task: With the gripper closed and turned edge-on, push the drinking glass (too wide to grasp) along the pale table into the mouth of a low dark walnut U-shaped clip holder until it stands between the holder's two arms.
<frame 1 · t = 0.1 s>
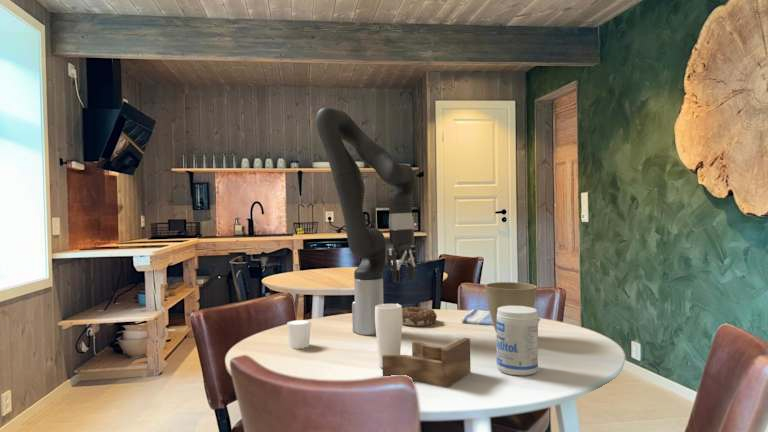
hand: (403, 281, 151), 17 cm above the table, tool pointing down, fingers open, 8 cm apart
holder: (436, 375, 115), on the table
white cup: (299, 346, 143), on the table
donut: (417, 324, 170), on the table
plant pot: (511, 339, 147), on the table
drinking glass: (389, 367, 122), on the table
dish towel: (499, 322, 172), on the table
supplement tub: (517, 371, 117), on the table
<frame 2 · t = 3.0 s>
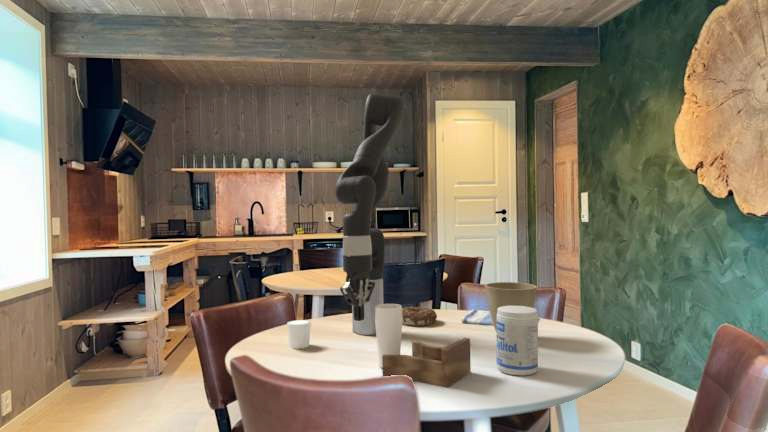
hand: (359, 320, 127), 10 cm above the table, tool pointing down, fingers closed
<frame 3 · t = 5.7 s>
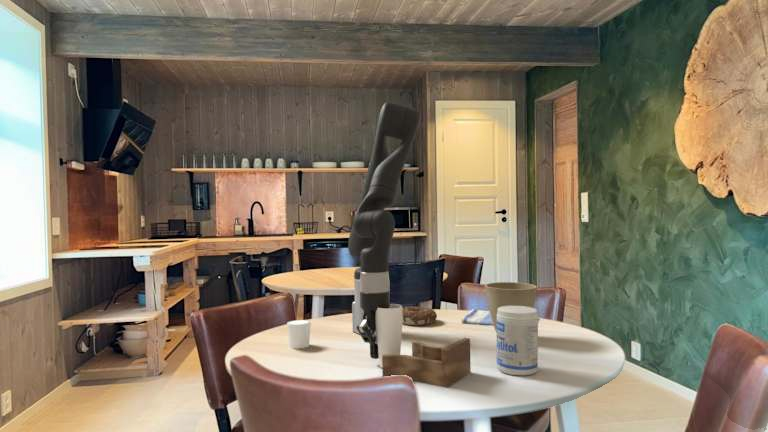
hand: (375, 357, 124), 2 cm above the table, tool pointing down, fingers closed
drinking glass: (389, 367, 122), on the table, touching gripper
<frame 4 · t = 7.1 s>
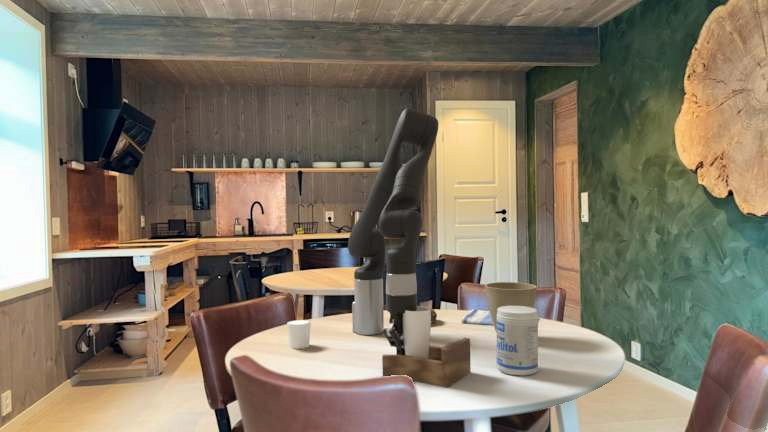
hand: (402, 362, 120), 2 cm above the table, tool pointing down, fingers closed
drinking glass: (417, 372, 118), on the table, touching gripper
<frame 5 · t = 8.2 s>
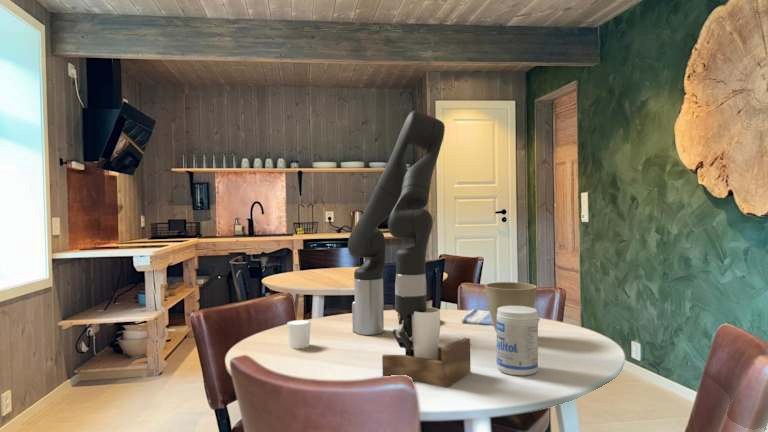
hand: (410, 363, 119), 2 cm above the table, tool pointing down, fingers closed
drinking glass: (425, 373, 117), on the table, touching gripper
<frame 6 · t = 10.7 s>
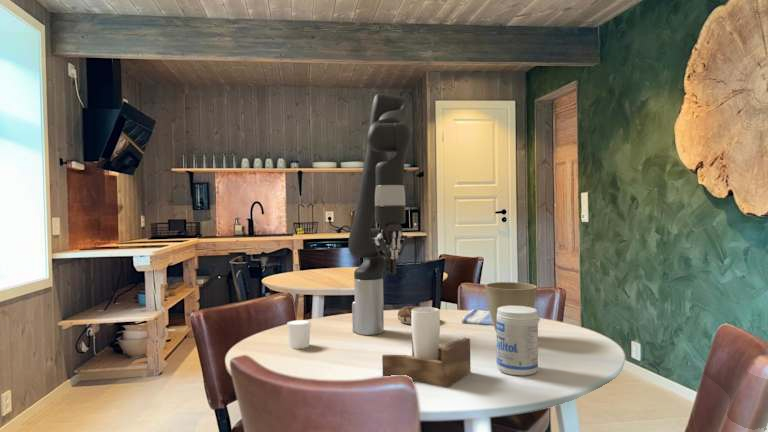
hand: (390, 274, 122), 23 cm above the table, tool pointing down, fingers closed
drinking glass: (426, 373, 117), on the table
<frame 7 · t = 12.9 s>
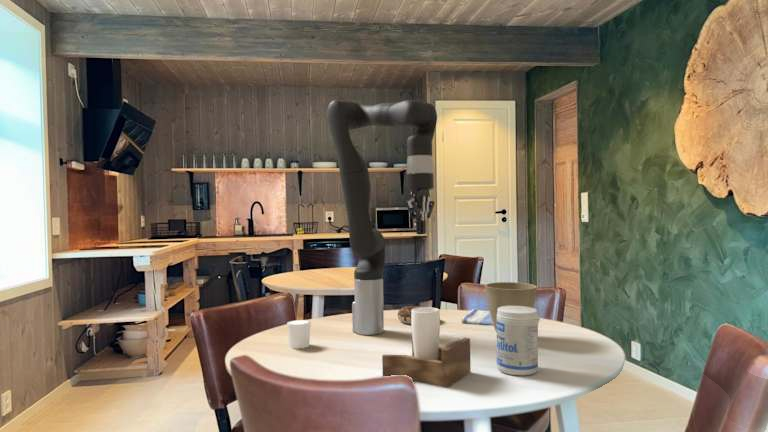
hand: (421, 234, 138), 32 cm above the table, tool pointing down, fingers closed
at the end: drinking glass inside the target area on the holder (2.2 cm from its centre), point 0.0 cm above the holder's base; drinking glass tilted 0° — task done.
